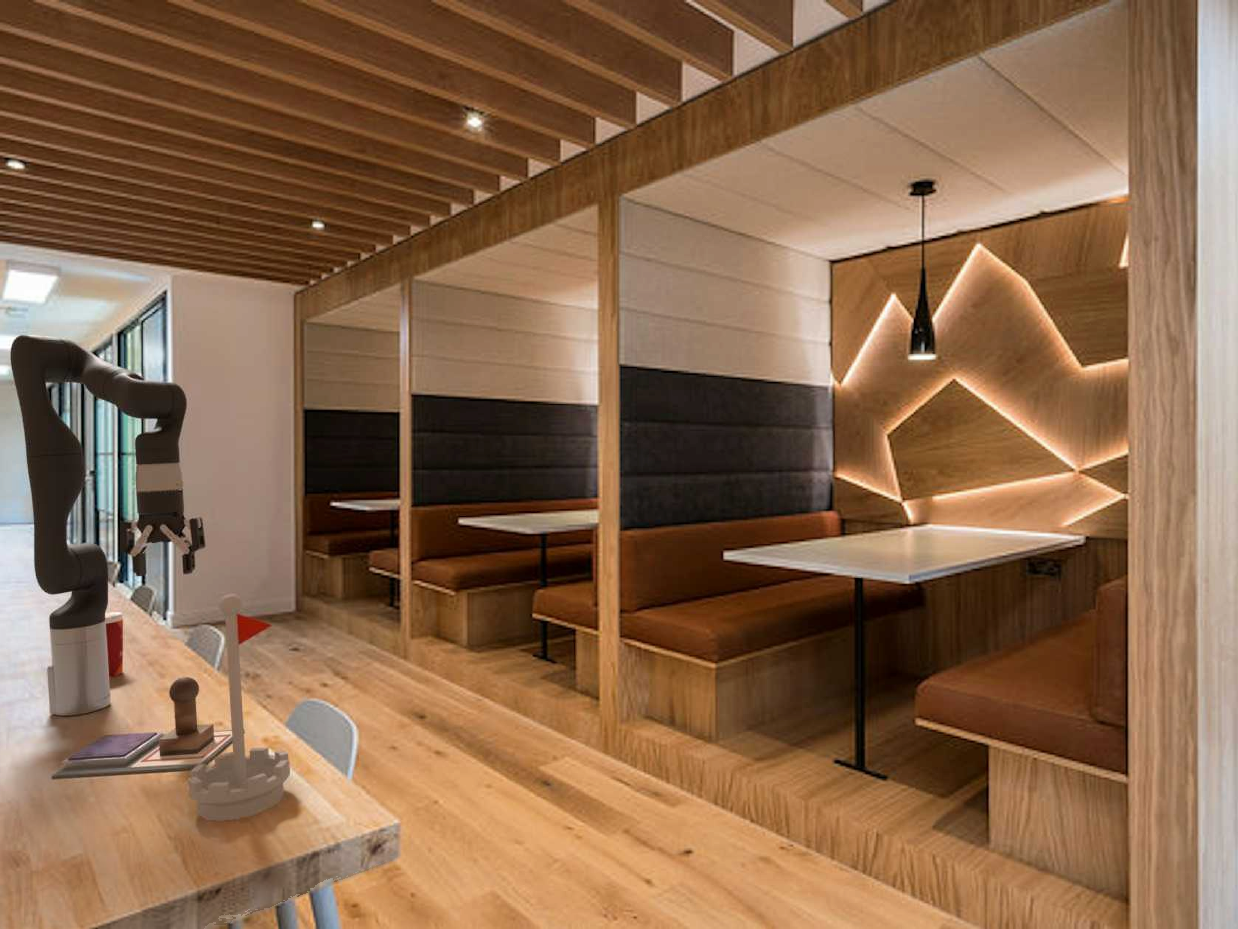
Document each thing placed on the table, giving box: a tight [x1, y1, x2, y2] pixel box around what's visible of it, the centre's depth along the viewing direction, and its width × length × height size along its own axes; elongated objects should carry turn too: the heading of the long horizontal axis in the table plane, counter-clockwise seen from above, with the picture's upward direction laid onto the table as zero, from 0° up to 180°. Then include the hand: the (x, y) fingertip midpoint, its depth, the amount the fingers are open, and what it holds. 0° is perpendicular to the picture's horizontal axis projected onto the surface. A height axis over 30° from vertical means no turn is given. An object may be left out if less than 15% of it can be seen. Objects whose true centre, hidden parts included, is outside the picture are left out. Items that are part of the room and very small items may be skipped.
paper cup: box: [105, 611, 125, 678], centre depth 180 cm, size 8×8×14 cm
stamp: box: [159, 676, 215, 756], centre depth 130 cm, size 6×6×12 cm
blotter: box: [51, 729, 233, 779], centre depth 130 cm, size 23×16×1 cm
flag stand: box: [187, 593, 291, 822], centre depth 110 cm, size 13×13×30 cm
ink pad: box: [61, 731, 163, 770], centre depth 130 cm, size 10×11×2 cm
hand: (164, 574), depth 144 cm, fingers open, 8 cm apart
